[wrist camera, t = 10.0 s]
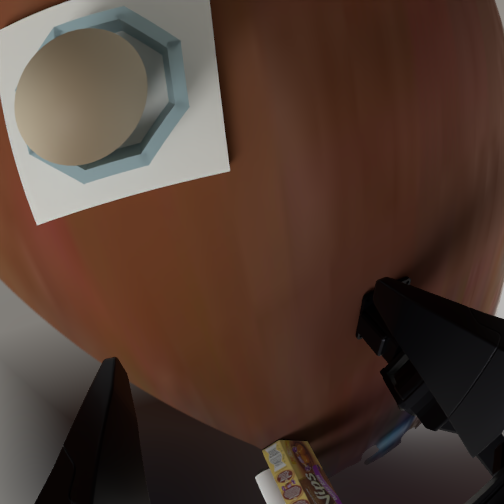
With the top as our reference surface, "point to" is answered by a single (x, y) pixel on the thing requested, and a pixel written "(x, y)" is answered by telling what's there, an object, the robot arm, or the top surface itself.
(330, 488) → the candy box
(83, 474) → the robot arm
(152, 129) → the cup bracket
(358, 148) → the top surface
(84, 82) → the rail post
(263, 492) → the cylindrical container
